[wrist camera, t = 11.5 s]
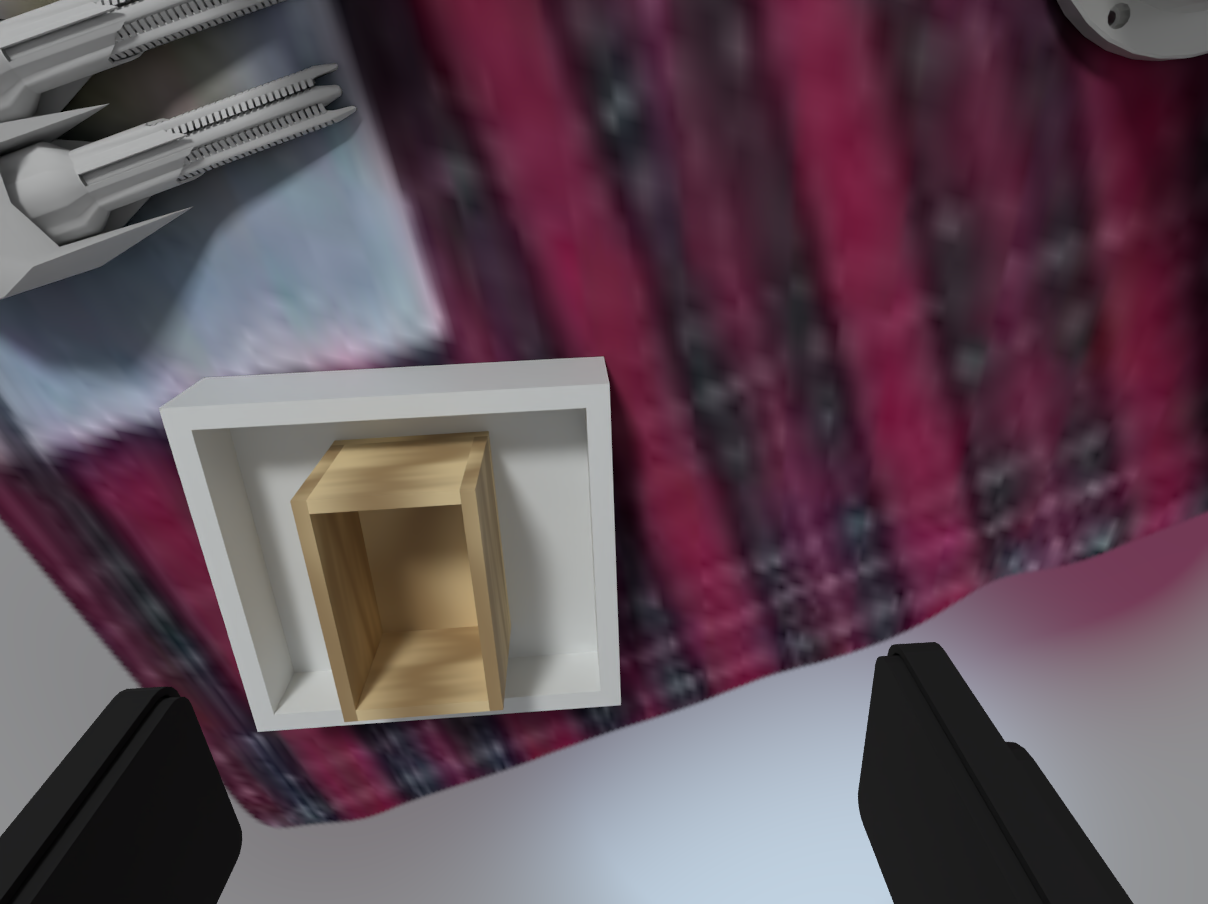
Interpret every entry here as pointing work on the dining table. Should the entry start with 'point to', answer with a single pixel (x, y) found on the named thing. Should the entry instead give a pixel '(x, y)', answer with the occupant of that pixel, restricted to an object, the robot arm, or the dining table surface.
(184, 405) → the white tray
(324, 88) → the turret
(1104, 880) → the robot arm
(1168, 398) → the dining table surface
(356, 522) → the pine crate
